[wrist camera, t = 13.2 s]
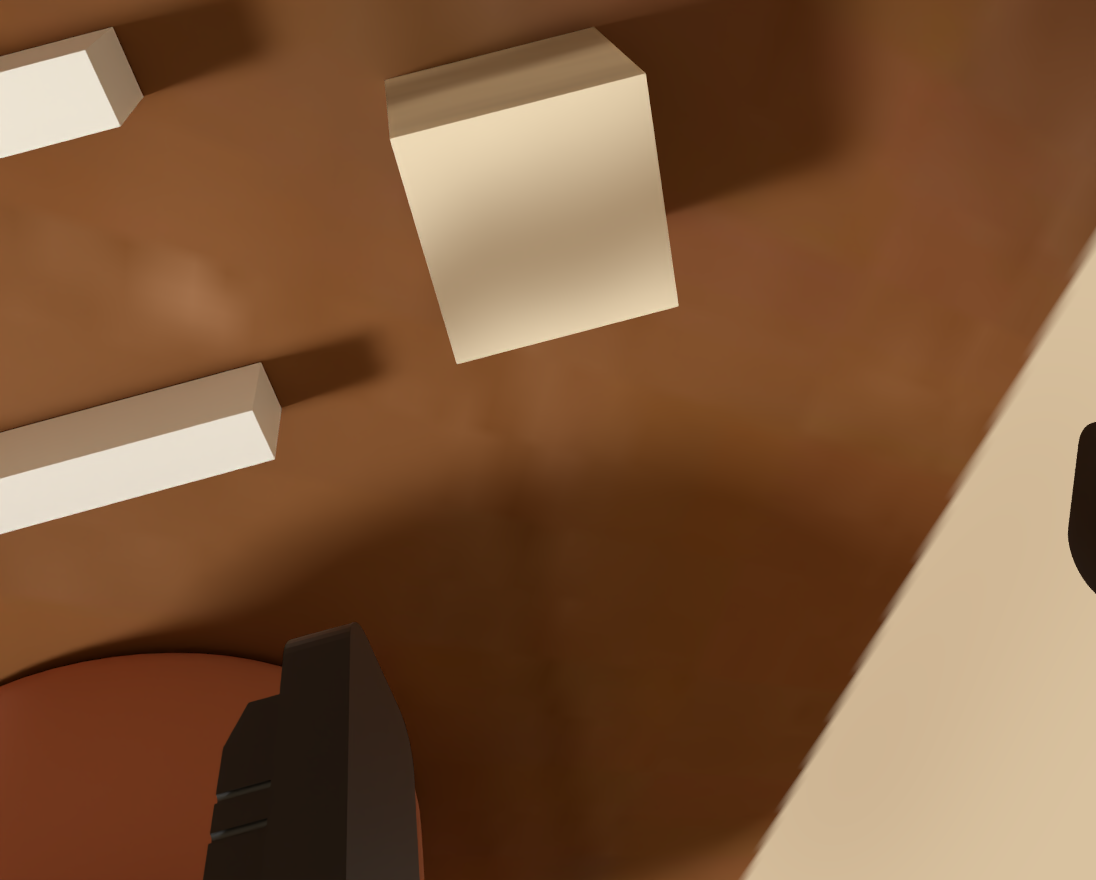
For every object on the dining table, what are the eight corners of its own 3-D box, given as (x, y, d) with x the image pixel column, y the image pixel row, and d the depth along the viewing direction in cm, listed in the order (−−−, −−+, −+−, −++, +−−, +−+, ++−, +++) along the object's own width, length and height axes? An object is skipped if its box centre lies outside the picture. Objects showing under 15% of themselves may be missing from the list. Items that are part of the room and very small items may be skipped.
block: (384, 79, 22) (389, 138, 18) (593, 26, 22) (645, 73, 18) (440, 274, 25) (456, 364, 21) (626, 225, 25) (678, 306, 21)
